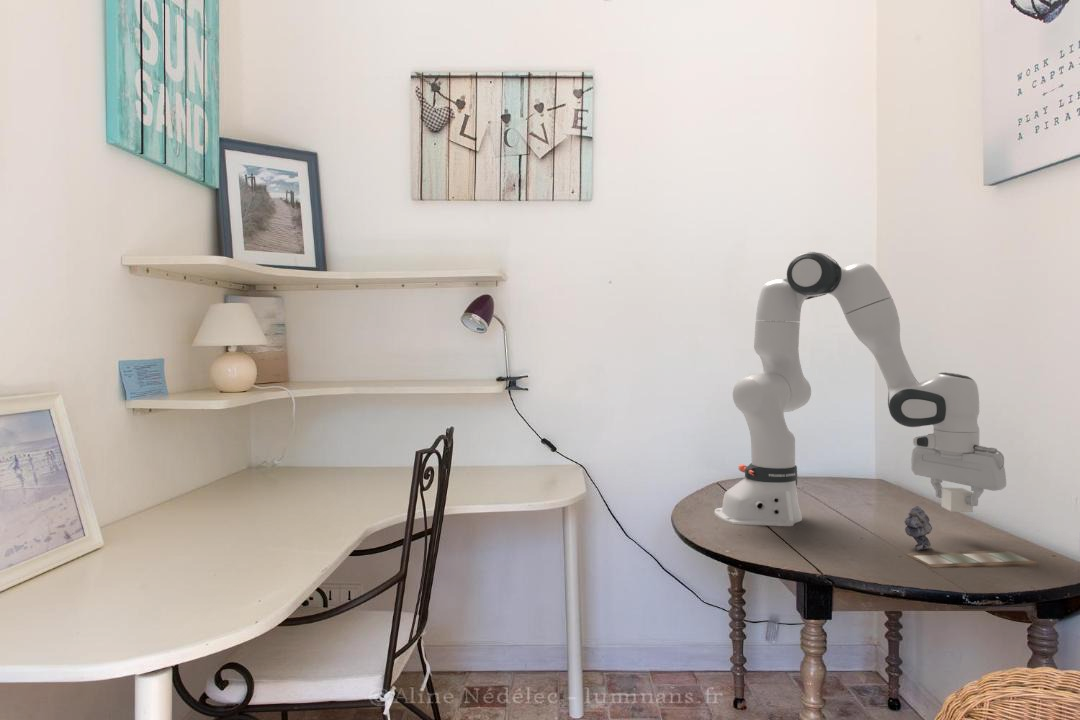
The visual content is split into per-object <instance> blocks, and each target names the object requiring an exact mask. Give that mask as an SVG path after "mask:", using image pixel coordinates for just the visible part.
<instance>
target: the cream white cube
mask: <svg viewBox="0 0 1080 720" xmlns="http://www.w3.org/2000/svg"><path fill="white" fill-rule="evenodd" d="M941 492H942V495H941V496H942V498H940V500H941V503H940V504H941V505H940V506H941V508H944V509H945V510H947V511H949V512H952V513H954V512H955V513H956V512H957V513H973V510H974V508H973V507H974V506H970V505H967V497H971V495H972V494H973V492H974V491H971V490H967V489H966V488H963V487H942V488H941Z"/></svg>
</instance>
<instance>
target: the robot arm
mask: <svg viewBox="0 0 1080 720" xmlns="http://www.w3.org/2000/svg"><path fill="white" fill-rule="evenodd" d="M828 294H829V295H831V296H833V297H834V298H835V299H836V300H837V302H838V303H839V306H840V308H841V310H842V312H843V314H844V318H845V319H846V321H847V324H848V325H849V327H850V329H851V330H852V332H853V333H854V335H855V336H856V338H857V339H858V340H859V341H860V342H861V343H862V344H863V345H864V346H866V348H867V349H868V350H869V351H870V352H871V354H872V355H873V356H874V358H875V360H876V363H877V365H878V367H879V369H880V371H881V373H882V376H883V378H884V380H885V382H886V383H885V384H886V386H887V390H888V394H887V395H888V396H887V406H888V407H887V408H888V411H889V414H890V416H891V418H892V419H893V420H894V421H895V422H897V423H898V424H899V425H901V426H904V427H908V428H919V427H924V426H925V427H927V426H931V425H932V426H933V433H928V434H925V435H921V436H916V437H915V436H914V438H913V439H912V444H913V446H915V447H913V449H912V451H911V458H910V460H911V461H910V463H911V466H910V467H911V471H912V473H913V474H914V475H915V476H920V477H925V478H929V479H930V483H931V485H932V487H933V489H934V490H935V497H936V498H937V499H941V498H942V496H941V495H942V492H941V488H943V486H942V484H941V483H943V481H944V482H948V483H954V484H958V485H965V486H969V487H970V492H973V494H972V495H971V497H967V505H970V506H973V507H977V506H978V505H979V499H980V497H981V496H982V494H983V493H984V492H985V491H984V490H987V491H994V492H995V491H1002V490H1003V489H1005V488H1006V486H1007V475H1006V471H1005V470H1006V469H1005V457H1004V454H1003V453H1002V452H1001V451H999V450H998V449H997V448H995V447H988V446H982V445H980V428H979V424H978V418H979V415H980V396H979V395H980V393H979V389H978V388H979V387H978V384H977V382H976V381H975V380H974V379H973V378H972V377H970V376H969V375H968V376H967V375H963V374H959V373H952V372H939V373H937V374H935V375H934V376H932V377H931V378H928V379H926V380H924V381H922V382H918V380H917V379H916V377H915V375H914V373H913V371H912V369H911V367H910V364H909V362H908V359H907V358H906V355H905V353H904V351H903V348H902V343H901V323H900V318H899V313H898V310H897V307H896V303H895V301H894V299H893V297H892V295H891V293H890V291H889V288H888V287H887V285H886V283H885V282H884V280H883V279H882V277H881V276H880V274H879V273H878V272H877V270H876V268H875V267H874V266H873V265H871V264H869V263H866V262H856V263H852V264H850V265H846V266H840V265H839V263H838V261H836V260H835V259H833V258H832V256H830V255H828V254H825V253H823V252H817V251H807V252H803V253H801V254H799V255H797V256H796V257H794V258H793V259H792V260H791V262H790V263H789V265H788V267H787V270H786V277H785V278H776V279H772V280H769V281H767V282H765V284H763V286H762V287H761V289H760V293H759V296H758V301H757V306H756V314H755V323H754V324H755V326H754V340H753V347H754V351H755V353H756V354H757V355H758V356H759V358H760V360H761V364H762V368H763V370H762V371H763V373H753V374H751V375H750V374H749V375H747V376H745V377H743V378H740V380H738V381H737V382H736V383H735V385H734V387H733V390H732V399H733V400H732V401H733V403H734V404H735V406H736V408H737V409H738V410H739V411H740V412H741V413H742V415H743V416H744V418H745V421H746V423H747V426H748V430H749V435H750V444H751V445H750V446H751V447H750V449H751V462H750V464H749V465H746V464H742V463H740V464H739V465H738V467H737V469H738V470H739V472H742V473H744V478H742V479H741V480H740V481H739V482H737V483H735V485H732V487H730V488H729V489H727V490H726V491H725V493H724V495H723V498H722V507H717V508H715V509H714V515H715V516H716V517H717V518H719V519H720V520H721V521H723V522H725V523H729V524H731V525H740V526H741V525H744V526H745V525H747V526H748V525H749V526H770V527H771V526H776V527H793V526H794V525H795V524H797V523H799V522H801V521H803V516H802V513H801V509H800V505H799V500H798V499H799V498H798V493H797V486H798V466H797V465H796V437H795V436H794V434H793V433H792V431H790V430H789V428H788V426H787V422H786V420H785V413H789V412H794V411H796V410H799V409H800V408H802V407H803V406H806V404H808V402H809V401H810V399H811V396H812V388H811V384H810V382H809V381H808V379H807V378H806V377H805V375H804V372H803V369H802V366H801V360H800V359H801V358H800V354H799V352H800V351H799V344H800V343H799V342H800V327H801V313H802V312H801V311H802V307H803V304H804V302H805V301H807V300H810V299H815V298H817V297H823V296H826V295H828Z"/></svg>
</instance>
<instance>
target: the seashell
mask: <svg viewBox="0 0 1080 720" xmlns="http://www.w3.org/2000/svg"><path fill="white" fill-rule="evenodd" d="M904 524H905V528H904V530H905V531H904V532H905V533H906V535H907V536H908V537H912V538H913V540H915V542H916V543H917V544H916V545H915V547H914V549H916V550H917V551H921V550H927V549H930V547H931V542H930V539H929V538H928V537H927V535H930V533H931V532H932V530H933V526H932V525H931V524H930V518H929V516H928V515H927V514H926V513H925V511H924V510H923V509H922V508H921V507H919V506H918V505H917V506H914V507H912V508H910V509H909V512H908V516H907V517H906V518H905V520H904Z"/></svg>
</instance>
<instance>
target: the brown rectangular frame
mask: <svg viewBox="0 0 1080 720" xmlns="http://www.w3.org/2000/svg"><path fill="white" fill-rule="evenodd" d="M905 555H906V556H907V557H909V558H911V559H913V560H915V561H917V562H919V563H921V564H923V565H925V566H926V567H929V568H930V569H942V568H943V569H944V568H945V569H946V568H948V569H949V568H953V567H954V568H987V567H988V568H989V567H990V568H991V567H1025V566H1026V567H1028V566H1032V567H1033V566H1037V567H1038V566H1039V563H1038V562H1036V561H1034V560H1032V559H1029V558H1028V557H1024V556H1022V555H1019V554H1017V553H1015V552H1012V551H1010V550H1007V549H1004V550H1003V549H1002V550H1001V549H1000V550H977V551H976V550H975V551H973V550H972V551H949V552H948V551H947V552H945V551H943V552H921V553H916V552H915V553H906V554H905ZM954 568H953V569H954Z"/></svg>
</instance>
